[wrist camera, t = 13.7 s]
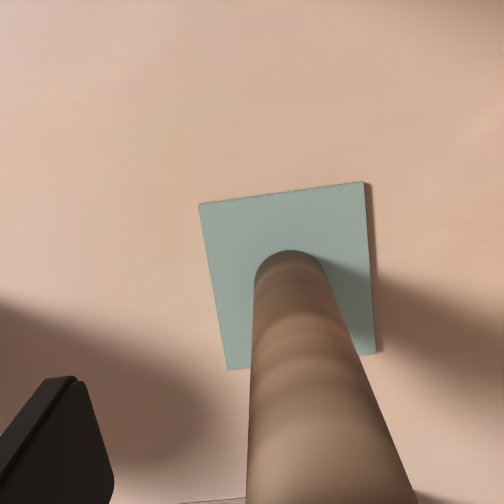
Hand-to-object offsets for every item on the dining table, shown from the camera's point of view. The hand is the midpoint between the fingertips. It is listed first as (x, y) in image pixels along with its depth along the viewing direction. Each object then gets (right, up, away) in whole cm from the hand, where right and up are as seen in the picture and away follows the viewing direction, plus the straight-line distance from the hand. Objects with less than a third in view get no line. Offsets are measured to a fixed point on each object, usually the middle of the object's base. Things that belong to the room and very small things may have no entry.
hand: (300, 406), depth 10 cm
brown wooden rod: (+1, +2, +10) cm, 10 cm away
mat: (+1, +2, +10) cm, 11 cm away
